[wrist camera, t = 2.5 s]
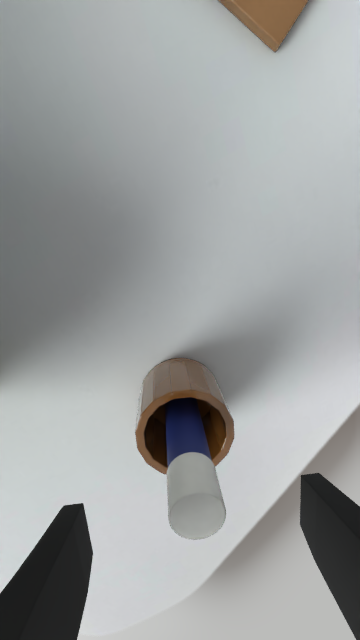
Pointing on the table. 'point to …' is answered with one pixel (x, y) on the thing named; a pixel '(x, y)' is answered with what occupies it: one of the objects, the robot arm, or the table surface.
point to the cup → (176, 383)
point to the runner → (267, 17)
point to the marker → (191, 473)
